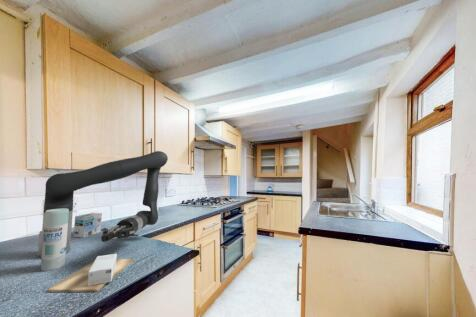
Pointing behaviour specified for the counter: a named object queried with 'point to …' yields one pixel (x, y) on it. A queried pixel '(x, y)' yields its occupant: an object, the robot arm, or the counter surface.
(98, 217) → the light bulb box
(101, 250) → the counter surface
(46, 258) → the spray paint can
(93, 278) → the skincare box
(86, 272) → the wooden board
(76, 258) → the counter surface
